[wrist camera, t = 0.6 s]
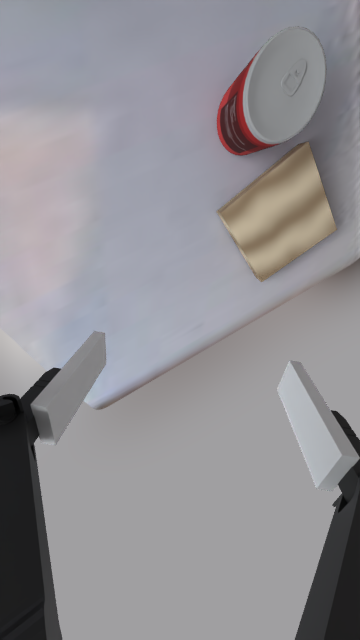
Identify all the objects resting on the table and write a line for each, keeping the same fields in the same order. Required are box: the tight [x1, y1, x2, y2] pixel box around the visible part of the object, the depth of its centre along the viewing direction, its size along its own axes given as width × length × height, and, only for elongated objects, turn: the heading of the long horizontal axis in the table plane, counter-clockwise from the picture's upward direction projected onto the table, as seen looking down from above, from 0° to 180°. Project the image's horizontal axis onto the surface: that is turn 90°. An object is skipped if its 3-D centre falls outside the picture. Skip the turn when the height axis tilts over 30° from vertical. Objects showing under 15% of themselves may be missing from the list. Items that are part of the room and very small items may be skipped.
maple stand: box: [217, 142, 337, 282], centre depth 36 cm, size 14×14×3 cm
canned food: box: [217, 26, 327, 155], centre depth 25 cm, size 8×8×11 cm
